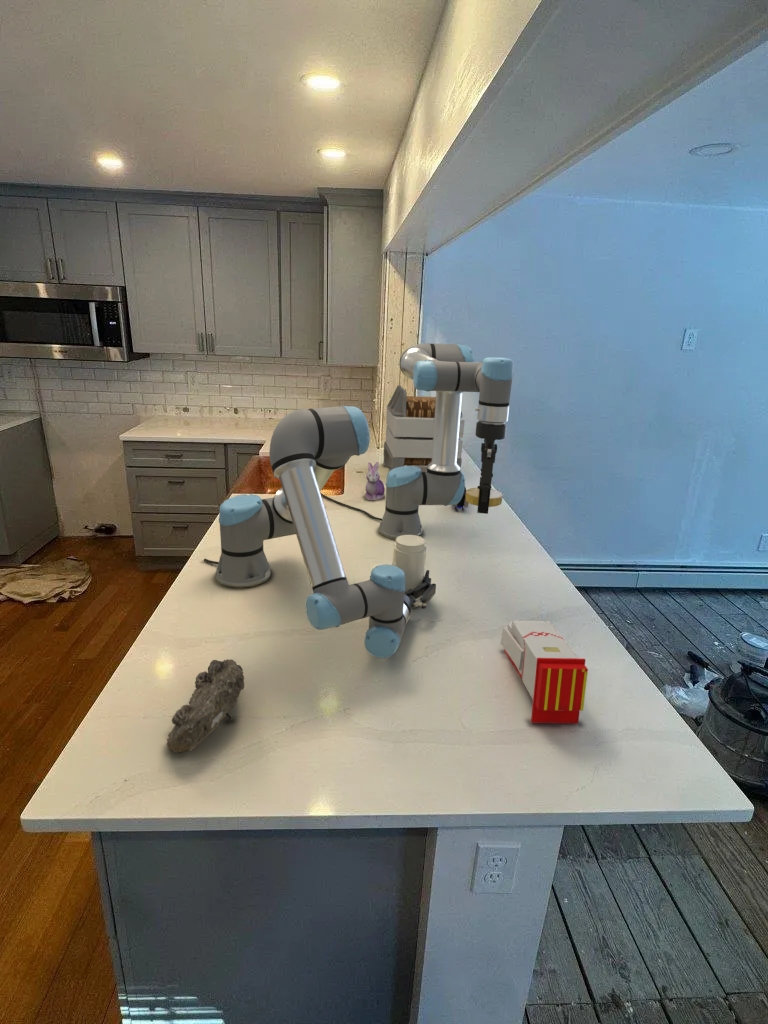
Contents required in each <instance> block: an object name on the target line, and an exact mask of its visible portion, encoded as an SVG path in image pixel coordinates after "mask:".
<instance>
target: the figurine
mask: <svg viewBox="0 0 768 1024" xmlns="http://www.w3.org/2000/svg"><path fill="white" fill-rule="evenodd" d="M379 465H380V463H379V461H376V462H375V463H374V465H372V463H371V462H368V463H367V468H368V469H367V473H366V475H365V478H366V480H367V482H366V484H365V494H364V498H365V499H366V500H367V501H377V500H382V499H384V497H385V493H386V488H385V484H384V482H383V481H382V480H381V479H380V478H381V475H380V473H379V471H378V469H379Z"/></svg>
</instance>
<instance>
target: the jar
mask: <svg viewBox="0 0 768 1024" xmlns="http://www.w3.org/2000/svg"><path fill="white" fill-rule="evenodd" d="M392 554H393V555H392V556H393V557H392V565H393V566H396V567H399V568H400V569H401V570H403V572H404V574H405V591H408V590H410V589H414V588H416V587H418V586H419V585H421V584H423V579H424V576H425V573H426V559H427V558H426V557H427V546H426V540H425V539H424V538H423V537H422V536H420V537H419V536H416V535H401V536H399V537H397V538H396V540H395V543H394V545H393V552H392ZM420 597H422V596H420ZM420 597H419V598H417V599H416V600H418V599H420ZM417 607H419V606H418V605H416V606H415V607H413V608H412V609H414V608H417Z"/></svg>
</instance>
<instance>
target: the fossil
mask: <svg viewBox="0 0 768 1024" xmlns="http://www.w3.org/2000/svg"><path fill="white" fill-rule="evenodd" d="M243 670H244V669H243V667H242V665H240V664H237V662H236V661H235V660H234V659H232V658H231V659H227V658H226V659H224V660H223V661H222V660H217V659H212V660H211V661H210V663H209V665H208V666H207V671H201V672H199V673H198V674H197V675H196V676H195V680H194V684H195V685H194V687H195V689H194V690H193V693H192V694H191V697H190V698H189V700H188V704H184V705H182V706H181V707H180V709H177V710H176V711H175V713H174V715H173V716H172V718H171V723H172V724H173V727H172V730H171V731H170V732H168V734H167V738H166V741H167V742H166V745H167V749H168V750H169V751H173V752H174V753H176V754H178V753H182V752H188V751H189V752H192V751H193V750H195V748H196V747H197V746H199V744H200V743H201V742H203V741H204V740H205V739H206V738H207V737H208V736H209V735H210V734H211V733H212V732H214V730H215V729H217V727H218V726H219V724H220V722H221V721H222V720H223V719H224V718H225V716H226V717H227V719H229V720H233V717H232V715H230V714H229V710H230V709H231V708H234V706H235V704H236V703H237V702H238V699H239V697H240V695H241V693H242V691H243V690H245V689H244V688H245V675H244V671H243Z"/></svg>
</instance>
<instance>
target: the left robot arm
mask: <svg viewBox="0 0 768 1024" xmlns="http://www.w3.org/2000/svg"><path fill="white" fill-rule="evenodd" d="M370 440H371V437H370V428H369V423H368V421H367V418H366V415H365V414H364V412H363V411H362V410H361V409H360V408H359V407H356V406H353V405H351V406H350V405H349V406H346V405H340V406H329V407H316V408H315V407H314V408H298V409H295V410H292V411H291V412H288V413H287V414H286V415H284V416H283V417H282V418H281V419H280V420H279V421H278V423H277V424H276V426H275V428H274V431H273V432H272V435H271V439H270V444H269V465H270V467H271V470H272V474H273V477H274V478H277V479H278V480H279V481H280V484H281V488H279V489H277V491H276V493H275V494H274V496H273V497H267V498H262V497H261V496H259V495H258V494H252V493H249V494H237V495H235V496H233V497H232V496H231V497H230V498H228V499H226V500H224V501H223V502H222V503H221V504H220V506H219V509H218V510H219V512H218V514H219V515H218V523H219V536H220V556H219V560H218V561H216V560H210V559H207V558H204V559H203V561H204V562H206V563H208V564H212V565H217V567H216V570H215V579H216V580H217V582H218V583H219V584H220V585H222V586H225V587H228V588H233V589H234V588H235V589H244V588H245V589H246V588H251V587H256V586H259V585H262V584H264V583H265V582H267V581H268V580H269V579H270V578H271V575H272V574H271V566H270V563H269V562H268V561H269V560H268V559H267V556H266V553H265V551H264V541H267V540H271V539H278V538H282V537H289V536H293V535H296V539H297V543H298V546H299V548H300V549H299V550H300V552H301V556H302V559H303V562H304V566H305V569H306V572H307V575H308V579H309V583H310V586H311V589H312V594H309V595H308V596H307V598H306V599H305V613H306V618H307V619H308V622H309V624H310V626H312V627H313V628H314V629H316V630H318V631H323V630H327V629H332V628H335V627H336V628H338V627H340V626H342V625H346V624H349V623H352V622H355V621H358V620H362V619H367V618H368V629H367V630H366V632H365V636H364V642H363V643H364V647H365V649H366V651H367V652H368V653H369V654H370V655H371V656H373V657H374V658H377V659H388V658H391V657H392V656H394V654H395V653H396V652H397V650H398V648H399V647H400V646H401V640H402V637H403V635H404V632H405V630H406V626H407V624H408V621H409V618H410V616H411V613H412V610H413V609H414V608H416V607H415V606H416V605H418V607H420V609H422V610H425V609H427V604H428V603H429V602H430V601H431V599H432V598H433V597H434V595H435V594H436V590H437V584H436V583H432V578H431V577H430V570H429V569H426V570H425V573H424V579H423V584H421V585H419V586H418V587H416V588H414V589H410V590H408V591H405V574H404V572H403V570H401V569H400V568H399V567H396V566H393V564H380V565H377V566H375V567H373V568H372V569H371V571H370V576H369V579H368V580H364V581H360V582H356V583H355V582H354V583H352V584H349V581H348V579H347V576H346V572H345V569H344V566H343V563H342V559H341V556H340V553H339V549H338V547H337V543H336V539H335V536H334V533H333V530H332V526H331V524H330V520H329V516H328V514H327V510H326V506H325V504H324V500H323V496H321V494H322V493H321V491H322V490H323V488H324V487H325V486H326V483H327V482H328V481H329V479H330V478H331V476H332V475H333V473H334V472H335V471H338V470H341V469H342V468H343V467H345V466H346V465H347V463H348V462H349V460H350V459H351V457H353V456H357V457H359V456H361V455H364V454H366V453H367V452H368V449H369V446H370V443H371V441H370ZM420 596H422V597H420ZM419 597H420V599H418V600H416V599H417V598H419ZM413 607H414V608H413Z"/></svg>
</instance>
